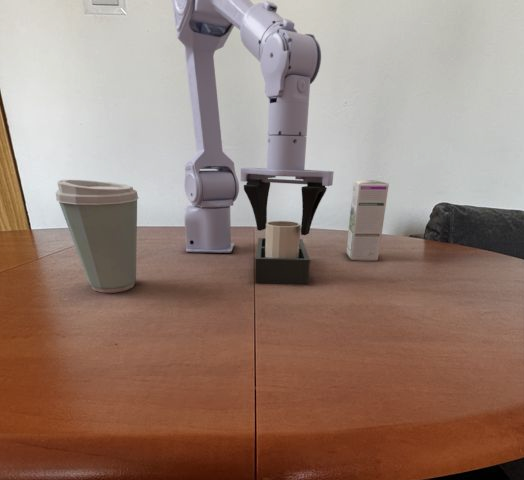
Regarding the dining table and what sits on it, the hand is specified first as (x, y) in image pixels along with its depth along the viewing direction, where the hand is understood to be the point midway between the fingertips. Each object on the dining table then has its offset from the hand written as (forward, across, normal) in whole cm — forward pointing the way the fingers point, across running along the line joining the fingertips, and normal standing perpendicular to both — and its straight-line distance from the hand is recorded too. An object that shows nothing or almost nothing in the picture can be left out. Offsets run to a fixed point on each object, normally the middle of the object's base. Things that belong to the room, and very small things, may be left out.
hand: (282, 231), depth 62 cm
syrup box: (+8, -10, -20) cm, 24 cm away
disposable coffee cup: (+8, +21, +18) cm, 28 cm away
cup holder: (+7, +2, -4) cm, 8 cm away
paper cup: (+7, 0, 0) cm, 7 cm away
